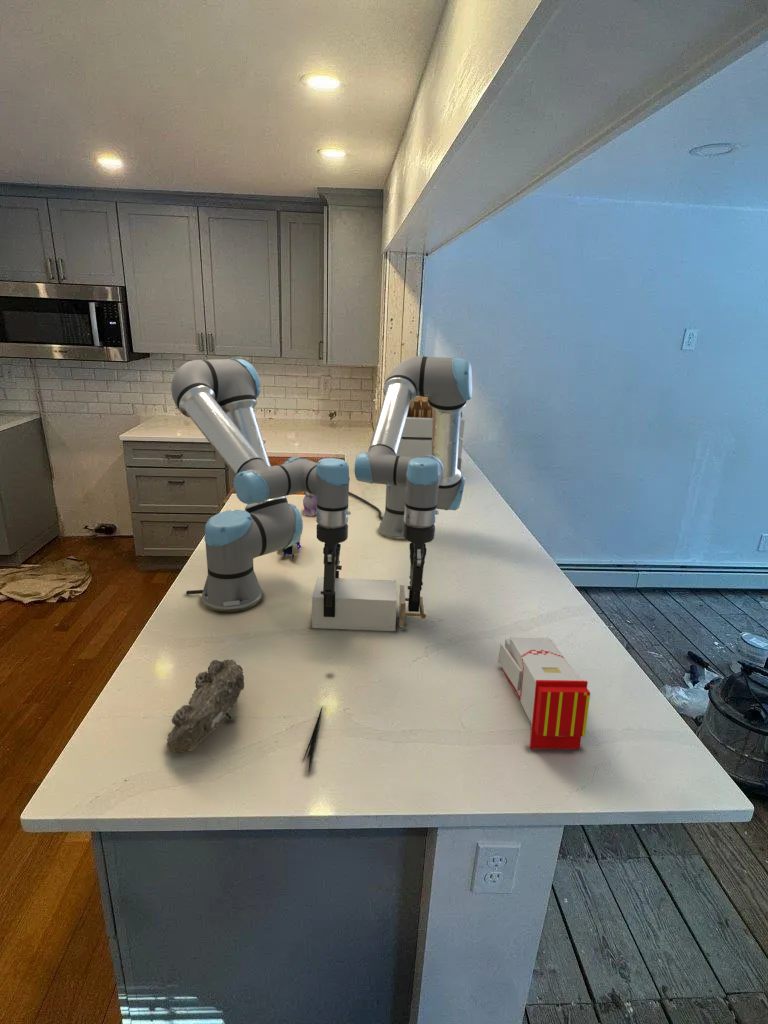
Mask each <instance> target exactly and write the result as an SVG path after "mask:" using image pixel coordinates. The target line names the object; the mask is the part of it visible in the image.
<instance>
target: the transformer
mask: <svg viewBox="0 0 768 1024" xmlns="http://www.w3.org/2000/svg"><path fill="white" fill-rule="evenodd" d="M432 415H433V408H432V407H431V406H430V405H429V404H428V397H420V396H415V399H414V400H413V401H412V402H411V403H410V406H409V410H408V413H407V417H406V421H405V425H404V429H403V433H402V437H401V441H400V445H399V449H398V453H397V456H405V457H417V458H421V457H423V456H426V455H431V449H432ZM464 429H465V419H464V418H463V411H461V415H460V430H459V445H458V461H457V469H459V471H460V472H462V461H463V460H462V453H463V442H464V441H463V440H462V439H463V438H464V431H465V430H464Z"/></svg>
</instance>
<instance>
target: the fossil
mask: <svg viewBox="0 0 768 1024" xmlns="http://www.w3.org/2000/svg"><path fill="white" fill-rule="evenodd" d="M243 670H244V669H243V667H242V665H240V664H237V662H236V661H235V660H234V659H232V658H231V659H227V658H226V659H224V660H223V661H222V660H217V659H212V660H211V661H210V663H209V665H208V666H207V671H201V672H199V673H198V674H197V675H196V676H195V680H194V684H195V685H194V687H195V689H194V690H193V693H192V694H191V697H190V698H189V700H188V704H184V705H182V706H181V707H180V709H177V710H176V711H175V713H174V715H173V716H172V718H171V723H172V724H173V727H172V730H171V731H170V732H168V734H167V738H166V741H167V742H166V745H167V749H168V750H169V751H173V752H174V753H176V754H178V753H182V752H188V751H189V752H192V751H193V750H195V748H196V747H197V746H199V744H200V743H201V742H203V741H204V740H205V739H206V738H207V737H208V736H209V735H210V734H211V733H212V732H214V730H215V729H217V727H218V726H219V724H220V722H221V721H222V720H223V719H224V718H225V716H226V717H227V719H229V720H233V717H232V715H230V714H229V710H230V709H231V708H234V706H235V704H236V703H237V702H238V699H239V697H240V695H241V693H242V691H243V690H245V689H244V688H245V675H244V671H243Z"/></svg>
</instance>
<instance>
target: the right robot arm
mask: <svg viewBox="0 0 768 1024" xmlns="http://www.w3.org/2000/svg"><path fill="white" fill-rule="evenodd" d="M472 369H473V368H472V365H471V362H470V361H469V360H468V359H466V358H458V357H456V356H455V357H442V356H441V357H440V356H425V355H416V356H415V355H414V356H412V357H409V358H406V359H404V360H403V361H401V362H399V364H397V365H396V366H395V367H394V368H393V369H392V370H391V371H390V373H389V374H388V376H386V379H385V381H384V385H383V389H382V391H383V395H384V396H383V400H382V403H381V407H380V410H379V413H378V416H377V420H376V423H375V427H374V430H373V432H372V436H371V439H370V443H369V446H368V450H367V451H365V452H358V454H357V455H356V457H355V461H354V468H353V469H354V472H353V473H354V477H355V479H356V480H357V481H358V482H361V483H367V484H377V485H385V504H384V505H385V507H384V508H385V509H384V513H383V515H382V511H381V510H380V509H379V508H378V506H376V505H374V504H372V503H370V502H369V501H367V500H366V499H364V498H362V497H360V496H358V495H357V494H354V493H352V492H351V491H349V495H350V496H352V497H354V498H356V499H357V500H360V501H362V502H363V503H365V504H366V505H368V506H370V507H372V508H373V509H374V510H375V511H377V513H378V518H379V519H380V520H381V522H379V526H378V533H379V534H380V535H381V536H382V537H385V538H387V539H389V540H395V541H407V542H408V543H409V542H410V543H409V561H410V567H409V576H408V578H409V585H407V590H408V598H409V601H407V602H408V603H407V613H420V607H419V605H420V597H421V592H422V590H423V587H422V586H423V585H424V583H423V578H424V577H423V576H424V567H425V563H426V561H425V559H426V556H427V543H428V544H429V543H431V542H432V541H434V539H435V535H436V533H435V532H436V525H435V524H436V519H437V515H439V513H440V512H439V510H443V511H457V510H458V509H459V508H460V506H461V502H462V498H463V493H464V489H465V484H466V478H465V477H463V476H462V473H461V472H462V471H461V472H460V471H459V469H457V461H458V445H459V430H460V415H461V412H462V409H463V408H465V406H466V405H467V401H470V400H472V397H473V371H472ZM417 396H418V397H428V404H429V405H430V406H431V407H432V408H433V415H432V449H431V455H426V456H423V457H421V458H417V457H405V456H397V453H398V449H399V445H400V441H401V437H402V433H403V429H404V425H405V421H406V417H407V413H408V410H409V406H410V403H411V402H412V401H413V400H414V399H415V397H417Z"/></svg>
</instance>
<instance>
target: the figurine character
mask: <svg viewBox="0 0 768 1024" xmlns="http://www.w3.org/2000/svg"><path fill="white" fill-rule="evenodd" d="M301 548H302V545H301V538H300V539H299V541H298V542H297V543H296V544H294V545H292V546H289V547H287V548H286V549H283V550H278V551H276V552H277V555H278V556H279V555H282V557H281V558H282V560H285V559H286V555H287V556H291V560H294V559H295V556H297V555H298V553H299V550H300V549H301Z"/></svg>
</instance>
